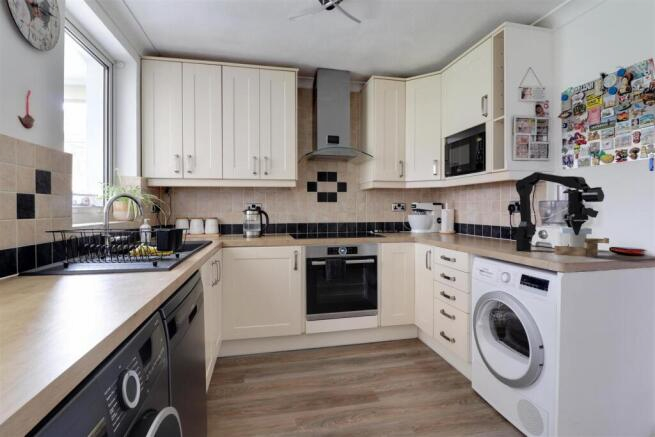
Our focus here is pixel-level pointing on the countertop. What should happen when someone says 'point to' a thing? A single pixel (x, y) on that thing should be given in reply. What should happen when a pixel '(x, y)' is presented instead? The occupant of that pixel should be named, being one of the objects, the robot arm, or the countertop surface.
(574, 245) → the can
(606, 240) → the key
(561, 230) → the lid
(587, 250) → the chisel box
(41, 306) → the countertop surface
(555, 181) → the robot arm
